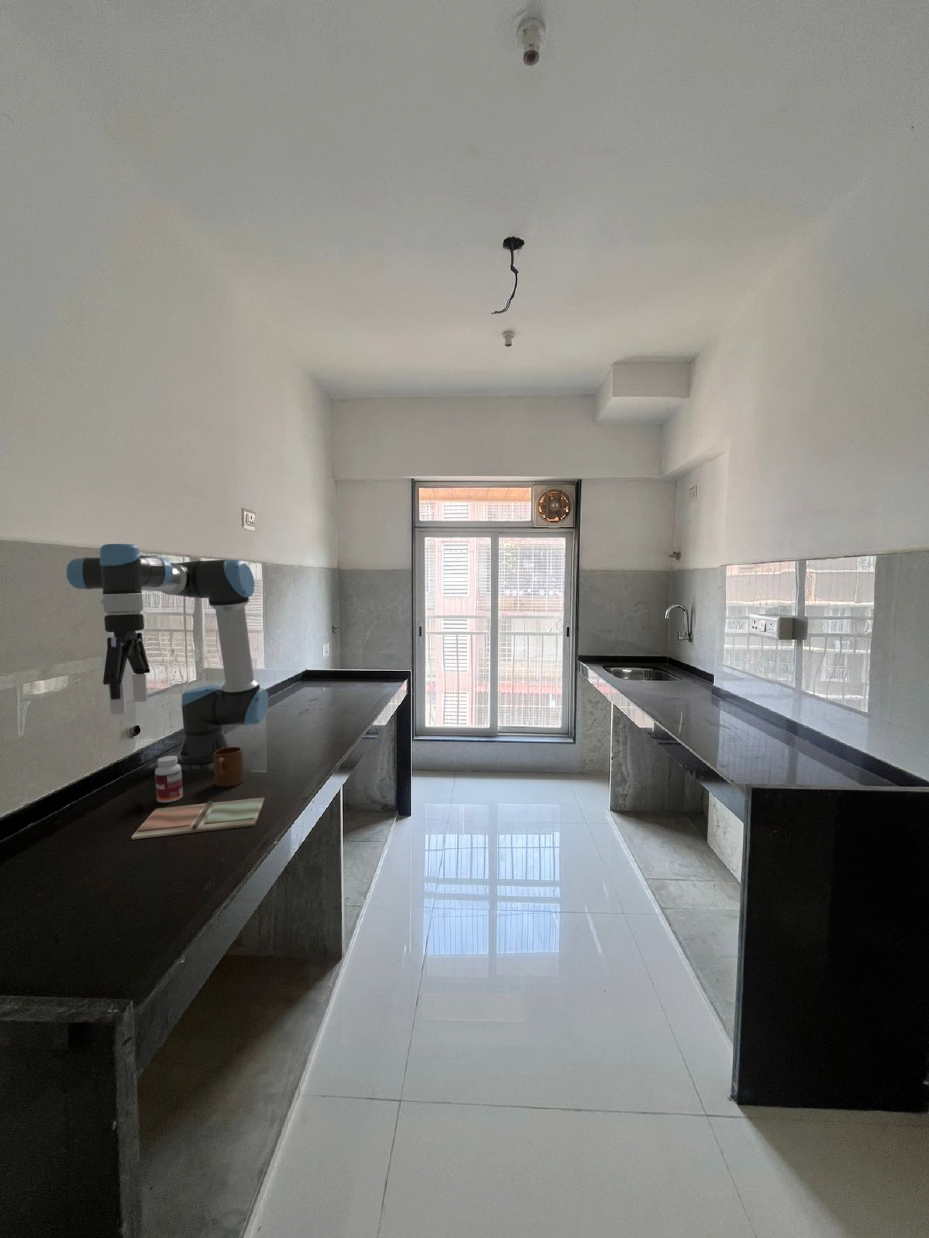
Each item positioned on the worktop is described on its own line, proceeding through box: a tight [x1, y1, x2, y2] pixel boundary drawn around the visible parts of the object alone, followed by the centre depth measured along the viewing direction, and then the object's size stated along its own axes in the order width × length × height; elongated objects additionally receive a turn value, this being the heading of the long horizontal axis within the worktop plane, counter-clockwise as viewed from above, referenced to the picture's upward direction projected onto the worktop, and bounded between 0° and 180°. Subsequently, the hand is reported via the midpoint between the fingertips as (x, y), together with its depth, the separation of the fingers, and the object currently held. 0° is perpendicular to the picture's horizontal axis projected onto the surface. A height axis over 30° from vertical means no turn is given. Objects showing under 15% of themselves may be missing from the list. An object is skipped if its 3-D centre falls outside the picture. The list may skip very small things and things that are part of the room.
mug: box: [213, 746, 245, 788], centre depth 156 cm, size 12×8×9 cm, turn 3°
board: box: [131, 797, 265, 840], centre depth 134 cm, size 16×26×1 cm, turn 102°
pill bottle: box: [154, 755, 184, 804], centre depth 147 cm, size 6×6×11 cm
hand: (130, 707), depth 126 cm, fingers open, 13 cm apart
